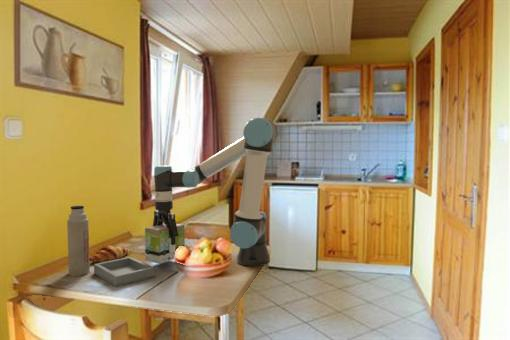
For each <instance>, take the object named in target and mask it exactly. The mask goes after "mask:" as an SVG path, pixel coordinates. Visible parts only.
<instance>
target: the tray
mask: <svg viewBox="0 0 510 340" xmlns="http://www.w3.org/2000/svg"><path fill="white" fill-rule="evenodd" d="M155 269H156V268H155V267H154V266H153V265H149V264H147V263H145V262H143V261H140V259H139V260H138V259H137V258H134V257H131V256H129V257H128V256H126V257H121V258H119V259H117V260H112V261H107V262H102V263H98V262H97V263H94V264H93V274H94V275H95V274H96V275H95V276H98V277H99V278H100V277H101V278H100V279H102V278H103V279H102V280H103V281H105V280H106V282H107V281H108V282H107V283H109V284H110V283H111V285H112V286H113V287H115V286H116V288H118V287H117V286H119V287H122V286H121V285H123V286H127V285H130V284H134V283H137V282H141V281H146V280H148V279H153V278H155V277H156V276H155V274H156V273H155V271H156V270H155ZM126 284H127V285H126Z"/></svg>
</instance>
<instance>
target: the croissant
mask: <svg viewBox="0 0 510 340" xmlns="http://www.w3.org/2000/svg"><path fill="white" fill-rule="evenodd" d="M129 253H130V249H129V248H126V247H125V246H124V247H120V246H118V245H116V246H113V245H105V246H102V247H101V248H99V249H98V251H96V252H95V254H93V255H91V256H89V262H92V263H97V264H98V263H102V262H107V261H112V260H117V259H122V258H124V257H125V256H127V255H128V254H129Z"/></svg>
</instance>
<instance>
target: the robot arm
mask: <svg viewBox="0 0 510 340" xmlns="http://www.w3.org/2000/svg"><path fill="white" fill-rule="evenodd" d="M242 133H243V134H242V136H243V137H242V138H240V139H238V140H236V141H234V143H231V144H230V145H228V146H227V147H225V148H224V149H222V150H220V151H218V152H217V153H215V154H214V155H212V156H210V157H209V158H207V159H206V160H204V161H203V162H200V163H199V164H198V165H196V166H194V167H193V168H190V169H179V170H178V169H175V170H174V169H173V168H172V166H171V165H156V166H155V167H154V168H153V169H154V172H153V173H154V176H153V177H154V178H153V179H154V199H155V201H154V205H155V210H154V211H153V221H152V226H157V225H163V224H166V227H167V228H169V235H170V236H169V252H170V253H171V252H175V237H176V236H178V230H177V225H176V224H177V221H176V213H171V210H173V208H174V206H173V203H174V202H173V188H189V189H190V188H196V187H197V186H198V185H200V184H203V182H205V180H207V179H208V178H210V177H212V176H214V175H216V174H217V173H218V172H220V171H222V170H223V169H226V168H227V167H228V166H230V165H232V164H234V163H235V162H237V161H239V160H240V159H242V158H244V157H245V164H244V171H243V172H244V173H243V179H242V186H241V194H240V202H239V206H238V207H239V208H238V210H237V211H236V212H234V217H233V224H232V225H231V227H230V230H229V238H230V241H231V242H232V244H234V246H236V247H238V248H239V249H238V254H237V256H236V262H237V264H239V265H243V266H249V267H258V266H265V265H268V264H270V262H271V256H270V254H269V250H268V249H269V248H268V246H267V213H266V212H265V211H261V210H260V209H261V205H262V204H261V203H262V196H263V191H264V183H265V175H266V167H267V160H268V156H270V155H271V154H272V152H273V146H274V144H273V143H275V141H276V140H277V137H278V128H277V126H276V124H275V122H273V121H272V120H270V119H267V118H264V117H254V118H251V119H250V120H249V121H248V122H247V123H245V125H244V127H243V132H242Z"/></svg>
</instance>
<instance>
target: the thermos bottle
mask: <svg viewBox="0 0 510 340" xmlns="http://www.w3.org/2000/svg"><path fill="white" fill-rule="evenodd" d="M84 207H85V206H84V205H72V206H70V209H71V210H70V211H71V212H70V214H69V215H68V220H67V221H66V224H67V225H66V226H67V229H66V230H67V252H68V253H67V255H68V257H67V258H68V259H67V260H68V262H67V263H68V264H67V265H68V275H69V276H72V277H76V276H77V277H80V276H84V275H87V274H89V273H90V270H91V269H90V265H91V264H90V260H89V258H90V231H89V230H90V229H89V227H90V226H89V219H88V218H87V213H86V212H85V208H84Z"/></svg>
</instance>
